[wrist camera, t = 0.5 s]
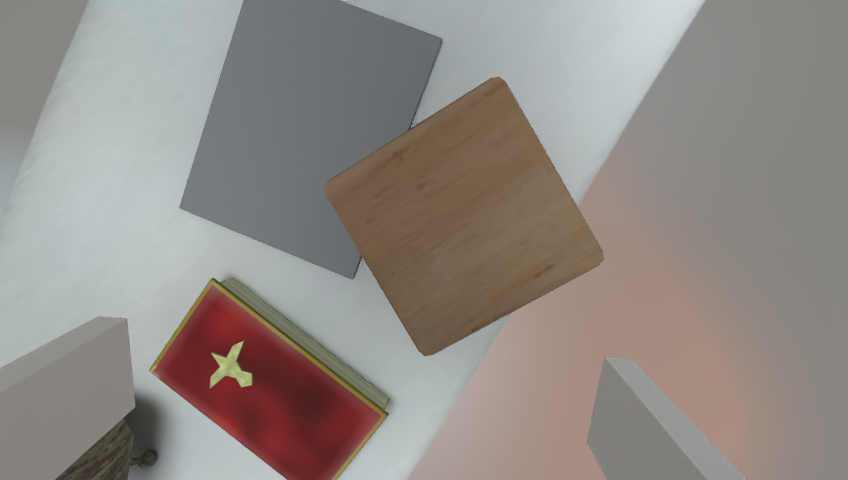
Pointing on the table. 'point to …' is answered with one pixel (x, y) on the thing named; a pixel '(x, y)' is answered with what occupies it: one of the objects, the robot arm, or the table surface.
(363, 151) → the mat
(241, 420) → the hardcover book
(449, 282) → the wooden block
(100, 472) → the tabletop clock
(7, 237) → the table surface
